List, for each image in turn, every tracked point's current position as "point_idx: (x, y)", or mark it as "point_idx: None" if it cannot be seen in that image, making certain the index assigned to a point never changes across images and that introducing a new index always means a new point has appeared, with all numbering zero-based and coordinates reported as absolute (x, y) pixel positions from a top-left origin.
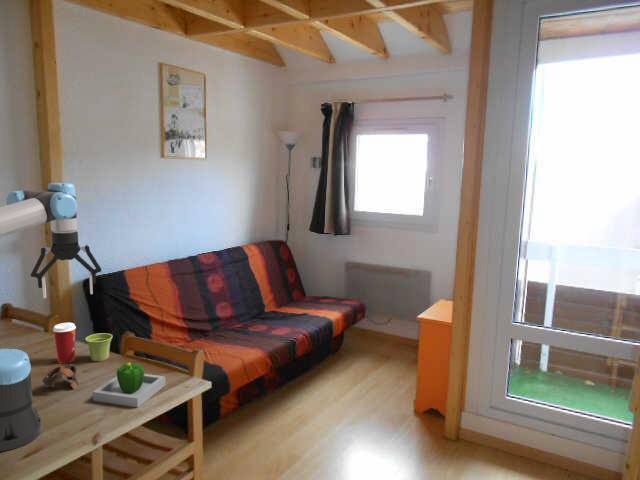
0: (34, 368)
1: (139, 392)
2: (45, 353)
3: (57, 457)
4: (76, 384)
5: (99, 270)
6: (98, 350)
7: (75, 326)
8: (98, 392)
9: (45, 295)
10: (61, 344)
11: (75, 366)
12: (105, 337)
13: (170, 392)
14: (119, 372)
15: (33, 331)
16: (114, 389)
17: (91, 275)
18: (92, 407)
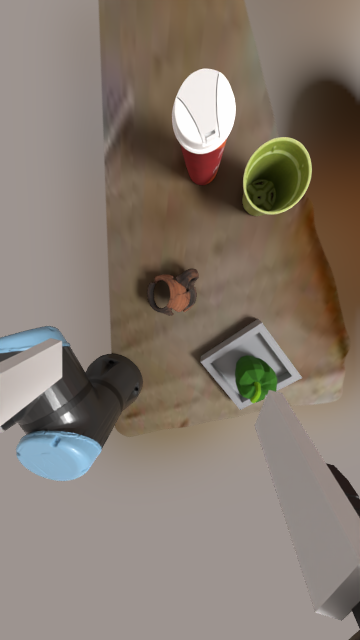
0: (147, 178)
1: None
2: (174, 86)
3: (149, 432)
4: (192, 305)
5: None
6: (257, 212)
7: (234, 113)
8: (206, 368)
9: (50, 386)
10: (190, 164)
11: (197, 275)
12: (296, 158)
13: (288, 392)
14: (239, 383)
15: None
16: (230, 352)
17: (333, 606)
18: (195, 370)
